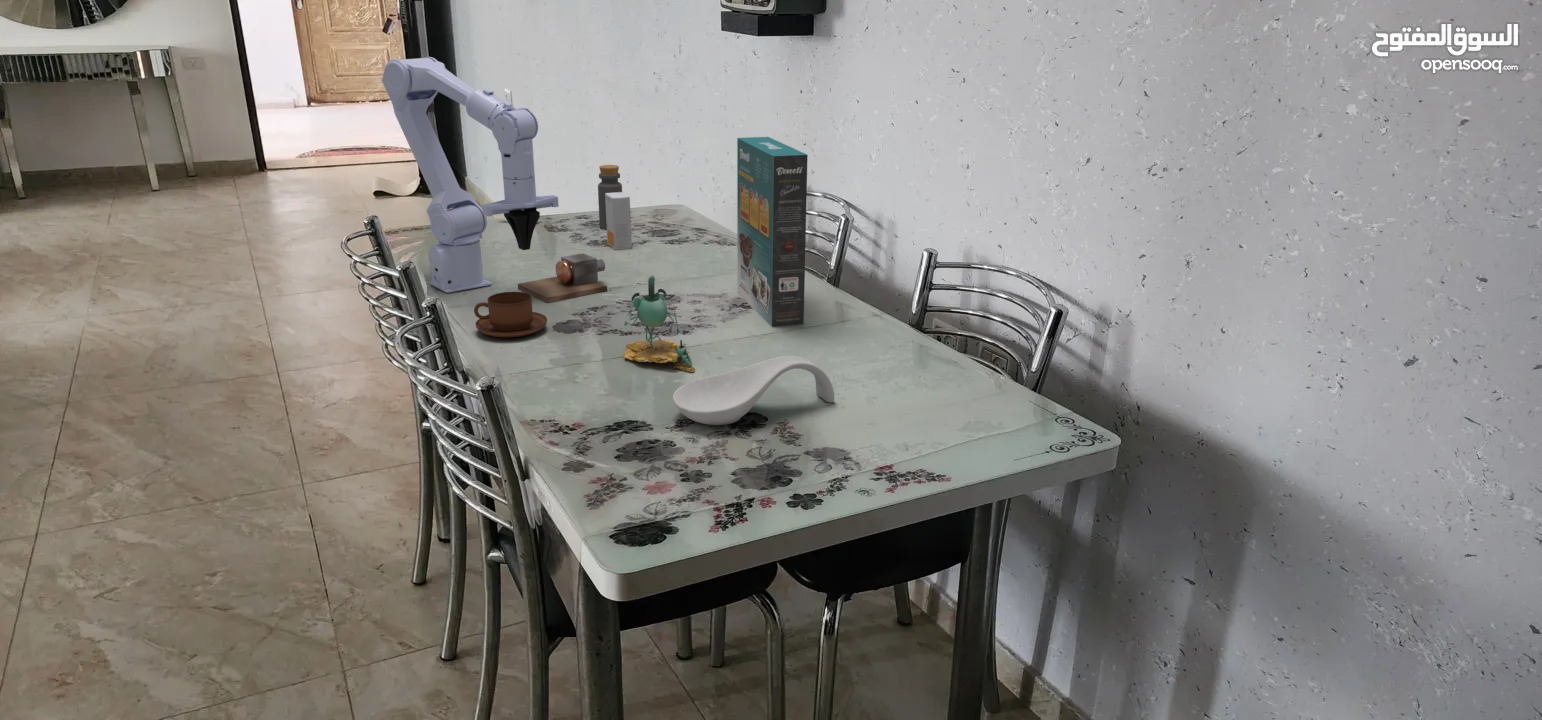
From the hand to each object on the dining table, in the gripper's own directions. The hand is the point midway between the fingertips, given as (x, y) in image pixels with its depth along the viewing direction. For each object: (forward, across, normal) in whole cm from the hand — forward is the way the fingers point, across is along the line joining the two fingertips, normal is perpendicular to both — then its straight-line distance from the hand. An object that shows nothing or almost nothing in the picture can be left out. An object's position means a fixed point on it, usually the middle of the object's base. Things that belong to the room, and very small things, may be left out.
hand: (524, 248), depth 191 cm
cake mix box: (+10, +32, -34) cm, 48 cm away
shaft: (+8, +12, 0) cm, 14 cm away
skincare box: (+10, +35, +23) cm, 43 cm away
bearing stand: (+9, +8, 0) cm, 12 cm away
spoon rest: (+10, -1, -70) cm, 71 cm away
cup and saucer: (+10, -12, -17) cm, 23 cm away
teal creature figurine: (+10, 0, -44) cm, 45 cm away
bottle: (+10, +44, +41) cm, 61 cm away
